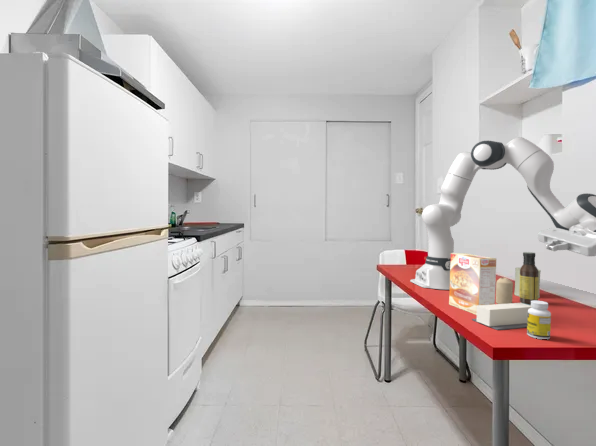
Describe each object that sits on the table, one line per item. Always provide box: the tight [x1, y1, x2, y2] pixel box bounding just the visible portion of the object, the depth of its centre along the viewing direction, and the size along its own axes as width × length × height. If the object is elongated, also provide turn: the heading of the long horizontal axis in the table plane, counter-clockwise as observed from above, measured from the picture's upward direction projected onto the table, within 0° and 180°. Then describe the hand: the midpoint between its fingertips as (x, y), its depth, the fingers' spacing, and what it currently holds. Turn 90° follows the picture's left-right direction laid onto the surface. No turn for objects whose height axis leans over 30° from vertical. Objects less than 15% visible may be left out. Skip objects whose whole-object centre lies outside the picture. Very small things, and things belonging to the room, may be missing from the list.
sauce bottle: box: [518, 251, 539, 305], centre depth 137 cm, size 6×6×20 cm
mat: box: [471, 318, 527, 331], centre depth 110 cm, size 10×16×1 cm, turn 106°
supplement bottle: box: [526, 300, 552, 340], centre depth 98 cm, size 5×5×10 cm
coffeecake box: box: [448, 252, 497, 316], centre depth 125 cm, size 15×7×20 cm, turn 14°
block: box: [476, 302, 532, 327], centre depth 110 cm, size 5×5×18 cm
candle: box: [495, 277, 514, 304], centre depth 135 cm, size 6×6×10 cm
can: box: [513, 267, 541, 299], centre depth 150 cm, size 9×9×12 cm
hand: (549, 248), depth 119 cm, fingers closed
